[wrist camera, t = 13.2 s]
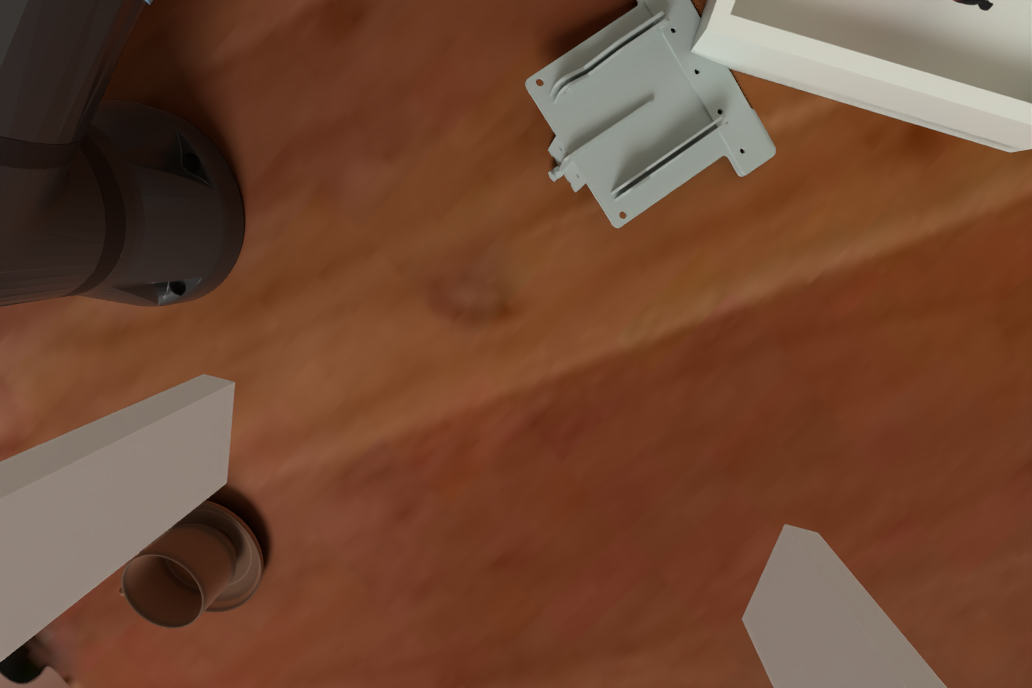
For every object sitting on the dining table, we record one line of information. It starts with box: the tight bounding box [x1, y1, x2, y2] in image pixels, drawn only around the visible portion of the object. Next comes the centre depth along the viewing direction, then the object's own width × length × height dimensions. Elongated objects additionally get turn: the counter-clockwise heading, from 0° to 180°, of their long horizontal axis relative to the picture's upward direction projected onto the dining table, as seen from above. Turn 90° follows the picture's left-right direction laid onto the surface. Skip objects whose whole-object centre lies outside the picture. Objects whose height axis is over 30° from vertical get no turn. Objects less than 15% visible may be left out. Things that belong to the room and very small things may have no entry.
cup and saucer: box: [119, 500, 264, 628], centre depth 43 cm, size 12×12×6 cm
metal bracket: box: [525, 0, 776, 228], centre depth 32 cm, size 14×6×15 cm
